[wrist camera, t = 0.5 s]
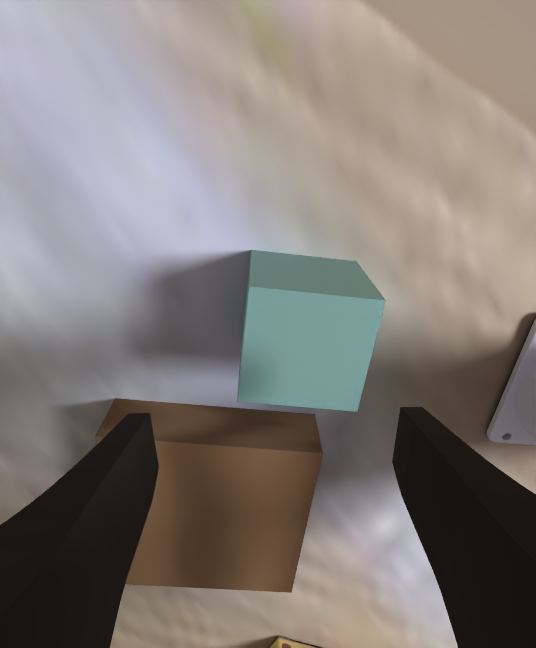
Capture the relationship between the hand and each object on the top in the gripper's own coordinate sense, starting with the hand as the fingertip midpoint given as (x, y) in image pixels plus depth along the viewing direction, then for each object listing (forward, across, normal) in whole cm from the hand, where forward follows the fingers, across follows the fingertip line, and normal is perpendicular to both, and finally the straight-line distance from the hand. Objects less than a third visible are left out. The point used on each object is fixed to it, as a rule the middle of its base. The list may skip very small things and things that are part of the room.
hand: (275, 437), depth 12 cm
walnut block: (+10, +4, +11) cm, 15 cm away
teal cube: (+10, -1, 0) cm, 10 cm away
